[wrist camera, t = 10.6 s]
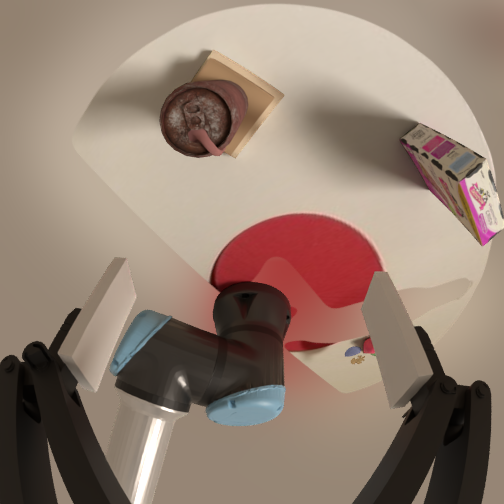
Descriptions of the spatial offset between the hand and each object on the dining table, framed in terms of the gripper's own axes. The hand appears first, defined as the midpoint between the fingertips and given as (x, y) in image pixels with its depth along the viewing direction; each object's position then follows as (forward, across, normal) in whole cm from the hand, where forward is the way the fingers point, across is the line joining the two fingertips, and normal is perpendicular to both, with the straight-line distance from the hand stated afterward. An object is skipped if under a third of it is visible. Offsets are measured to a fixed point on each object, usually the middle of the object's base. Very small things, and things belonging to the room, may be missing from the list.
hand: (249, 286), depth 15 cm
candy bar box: (+28, -26, -2) cm, 39 cm away
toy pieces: (+30, -29, +45) cm, 61 cm away
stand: (+28, +4, -7) cm, 29 cm away
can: (+24, +4, -7) cm, 25 cm away
